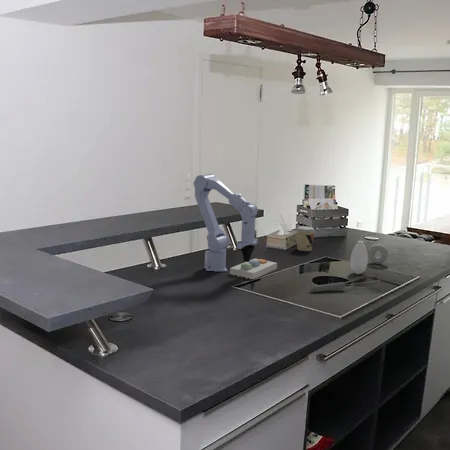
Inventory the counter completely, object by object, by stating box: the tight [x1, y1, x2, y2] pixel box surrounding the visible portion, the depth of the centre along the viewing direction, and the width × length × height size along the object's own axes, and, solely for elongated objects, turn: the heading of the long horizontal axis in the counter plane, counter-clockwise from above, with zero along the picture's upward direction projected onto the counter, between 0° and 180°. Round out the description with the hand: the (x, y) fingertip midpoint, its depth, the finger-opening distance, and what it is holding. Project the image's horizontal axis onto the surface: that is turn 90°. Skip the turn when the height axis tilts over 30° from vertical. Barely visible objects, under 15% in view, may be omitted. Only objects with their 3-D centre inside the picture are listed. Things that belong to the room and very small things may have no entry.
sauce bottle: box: [349, 236, 369, 275], centre depth 250 cm, size 8×8×18 cm
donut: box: [367, 243, 389, 265], centre depth 269 cm, size 10×4×10 cm, turn 65°
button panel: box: [229, 258, 278, 280], centre depth 248 cm, size 22×12×3 cm, turn 147°
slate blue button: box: [249, 259, 260, 267], centre depth 247 cm, size 4×4×3 cm
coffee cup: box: [296, 225, 316, 252], centre depth 293 cm, size 9×9×12 cm
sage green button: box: [240, 262, 252, 270], centre depth 242 cm, size 4×4×3 cm
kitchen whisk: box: [306, 273, 381, 294], centre depth 226 cm, size 6×34×6 cm, turn 107°
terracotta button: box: [257, 258, 268, 264], centre depth 253 cm, size 4×4×3 cm
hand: (246, 261), depth 241 cm, fingers closed
